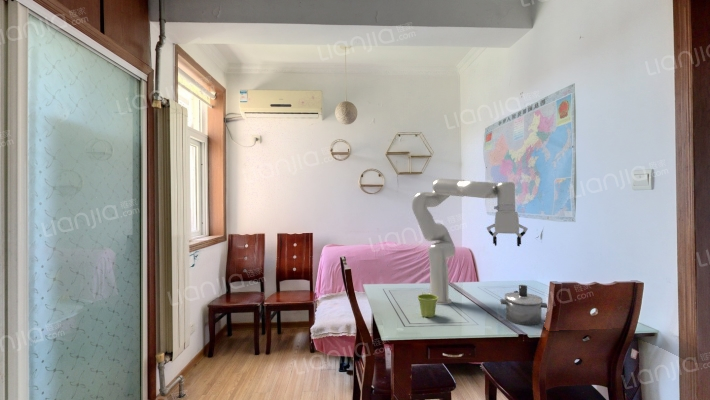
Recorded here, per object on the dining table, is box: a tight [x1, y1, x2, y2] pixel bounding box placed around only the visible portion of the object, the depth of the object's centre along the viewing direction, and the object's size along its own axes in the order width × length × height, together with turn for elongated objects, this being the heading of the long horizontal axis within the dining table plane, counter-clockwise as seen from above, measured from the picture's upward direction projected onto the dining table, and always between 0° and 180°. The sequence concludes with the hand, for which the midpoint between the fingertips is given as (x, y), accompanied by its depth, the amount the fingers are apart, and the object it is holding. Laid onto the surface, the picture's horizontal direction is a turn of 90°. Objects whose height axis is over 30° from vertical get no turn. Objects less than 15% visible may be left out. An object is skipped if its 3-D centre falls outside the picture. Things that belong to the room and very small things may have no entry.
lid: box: [504, 284, 544, 305], centre depth 147 cm, size 15×15×6 cm
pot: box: [500, 298, 548, 327], centre depth 146 cm, size 18×14×9 cm
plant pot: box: [417, 293, 438, 318], centre depth 154 cm, size 9×9×9 cm
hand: (506, 245), depth 153 cm, fingers open, 9 cm apart
